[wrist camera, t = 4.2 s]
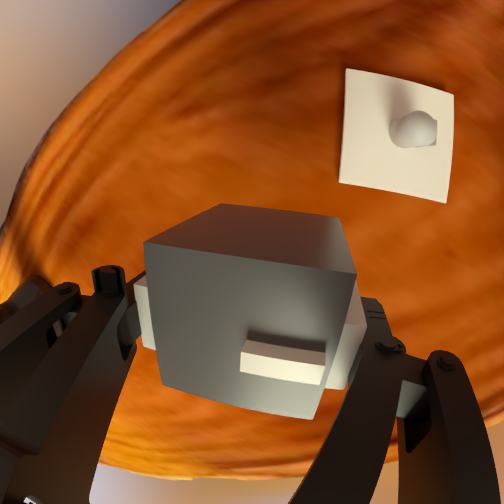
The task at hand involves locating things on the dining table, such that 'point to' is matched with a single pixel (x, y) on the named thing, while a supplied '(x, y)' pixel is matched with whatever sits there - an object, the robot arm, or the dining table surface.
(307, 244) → the grey rectangular block
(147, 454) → the dining table surface
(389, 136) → the white peg base
